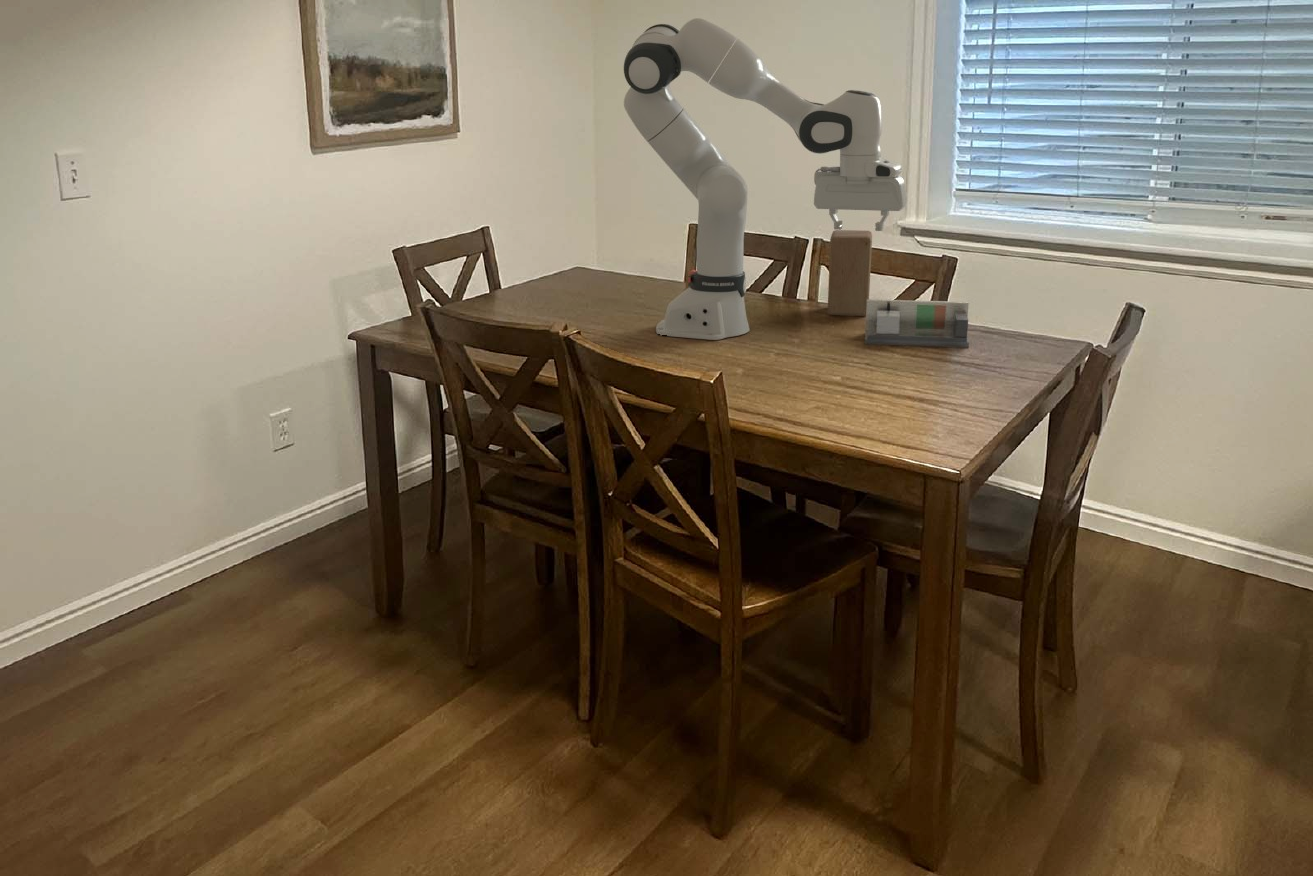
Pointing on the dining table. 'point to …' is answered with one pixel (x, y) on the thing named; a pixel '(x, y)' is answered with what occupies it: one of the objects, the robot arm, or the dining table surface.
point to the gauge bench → (921, 323)
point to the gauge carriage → (888, 322)
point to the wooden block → (849, 272)
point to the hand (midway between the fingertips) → (858, 229)
